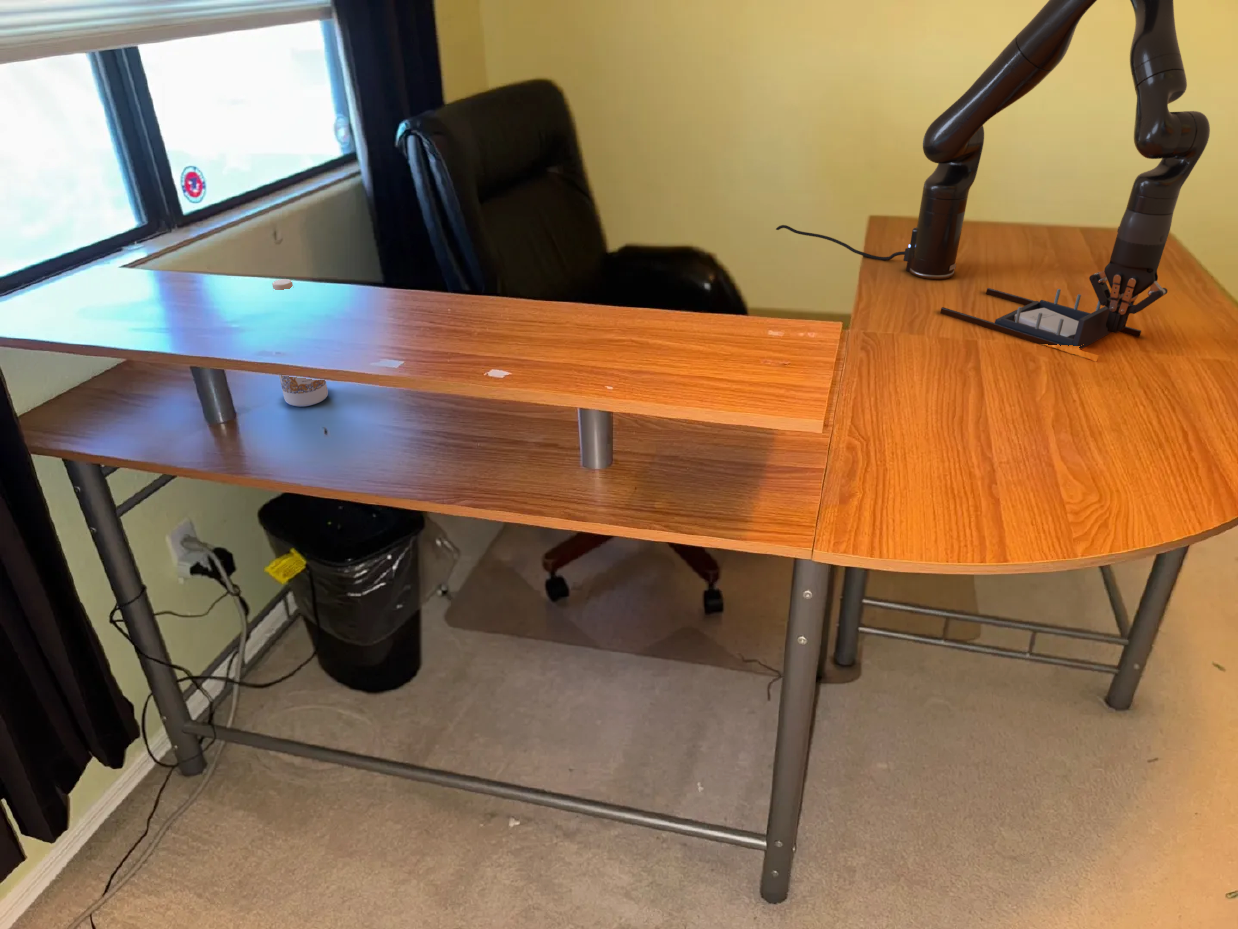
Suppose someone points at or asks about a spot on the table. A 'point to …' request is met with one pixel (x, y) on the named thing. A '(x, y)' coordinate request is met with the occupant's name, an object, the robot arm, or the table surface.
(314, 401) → the patterned jar
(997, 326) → the rack rails
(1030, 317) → the hard drive
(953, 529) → the table surface
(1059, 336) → the rack
